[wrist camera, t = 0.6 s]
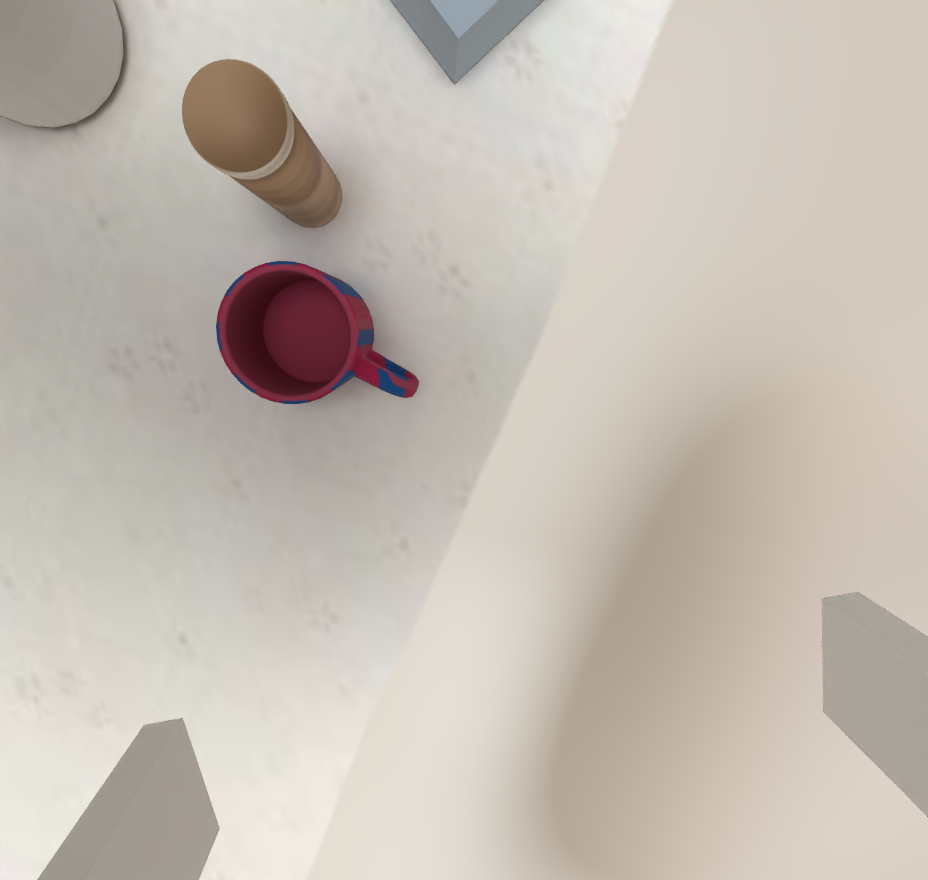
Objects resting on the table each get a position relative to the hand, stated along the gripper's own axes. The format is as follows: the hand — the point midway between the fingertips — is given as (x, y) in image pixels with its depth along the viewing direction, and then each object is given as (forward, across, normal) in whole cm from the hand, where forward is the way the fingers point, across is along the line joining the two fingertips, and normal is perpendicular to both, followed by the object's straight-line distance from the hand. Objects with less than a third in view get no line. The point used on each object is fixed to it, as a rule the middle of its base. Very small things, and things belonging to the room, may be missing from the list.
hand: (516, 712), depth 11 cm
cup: (+24, -6, +7) cm, 26 cm away
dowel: (+24, -6, +16) cm, 30 cm away
